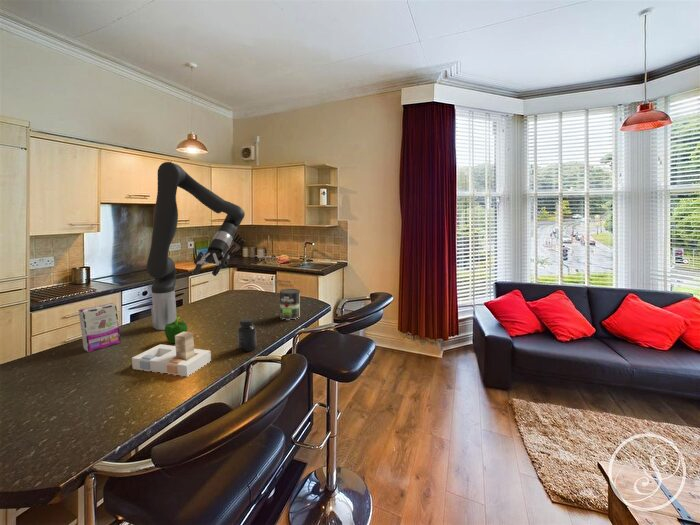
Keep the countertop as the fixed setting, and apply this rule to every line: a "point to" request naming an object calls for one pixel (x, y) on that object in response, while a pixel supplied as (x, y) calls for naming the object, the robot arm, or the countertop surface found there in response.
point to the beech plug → (184, 346)
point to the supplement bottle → (247, 335)
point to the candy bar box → (99, 327)
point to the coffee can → (289, 304)
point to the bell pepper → (174, 329)
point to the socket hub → (170, 361)
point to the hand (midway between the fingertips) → (204, 274)
